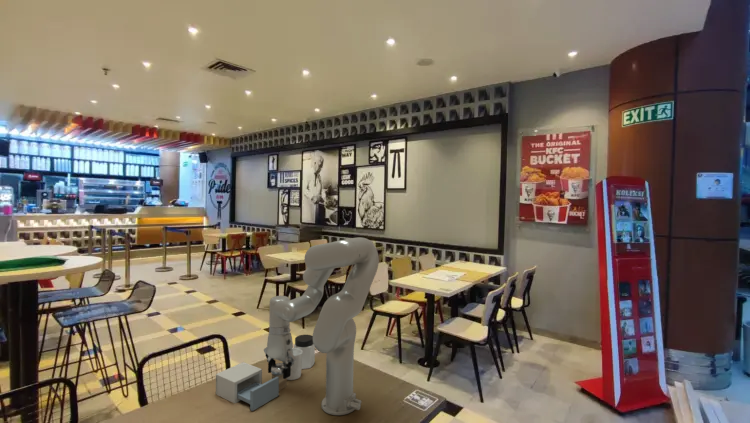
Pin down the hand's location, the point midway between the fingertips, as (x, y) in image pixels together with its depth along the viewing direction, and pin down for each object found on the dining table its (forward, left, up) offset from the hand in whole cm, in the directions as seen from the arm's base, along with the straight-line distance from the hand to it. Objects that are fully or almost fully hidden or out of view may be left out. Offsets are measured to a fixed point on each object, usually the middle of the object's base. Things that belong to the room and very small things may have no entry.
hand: (279, 374), depth 136 cm
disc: (0, 0, +1) cm, 1 cm away
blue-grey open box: (+1, +11, -5) cm, 12 cm away
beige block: (0, 0, -5) cm, 5 cm away
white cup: (+2, -9, -5) cm, 11 cm away
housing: (+10, +10, -5) cm, 15 cm away
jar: (+5, -19, -5) cm, 20 cm away
